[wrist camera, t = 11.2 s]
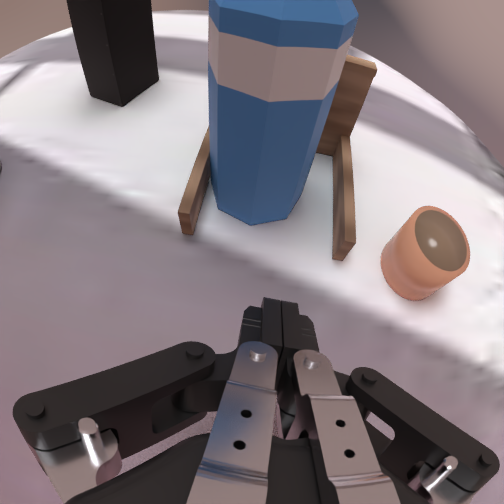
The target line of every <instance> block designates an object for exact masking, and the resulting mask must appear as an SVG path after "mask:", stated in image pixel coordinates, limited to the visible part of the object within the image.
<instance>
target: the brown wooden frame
mask: <svg viewBox="0 0 504 504" xmlns="http://www.w3.org/2000/svg"><path fill="white" fill-rule="evenodd" d="M376 73H377V68H376V65H375V63H374V62H370V61H367V60H364V59H361V58H357V57H354V56H350V55H347V56H346V59H345V63H344V66H343V69H342V72H341V76H340V79H339V82H338V85H337V88H336V91H335V95H334V98H333V101H332V104H331V107H330V110H329V113H328V116H327V119H326V122H325V125H324V129H323V132H322V135H321V138H320V141H319V144H318V147H317V150H316V153H321V154H325V155H330V156H333V254H332V259H335V260H341V261H343V259H344V258H345V257H346V255H347V254H348V253H349V251H350V250H351V249H352V247H353V246H354V245H355V243H356V227H355V202H354V184H353V170H352V157H351V146H350V135H351V132H352V130H353V128H354V125H355V123H356V120H357V118H358V115H359V113H360V110H361V108H362V105H363V103H364V100H365V98H366V95H367V93H368V90H369V88H370V85H371V83H372V80H373V78H374V77H375V75H376ZM210 175H211V171H210V140H209V127H208V129H207V132H206V134H205V137H204V140H203V142H202V145H201V148H200V150H199V153H198V156H197V158H196V161H195V164H194V166H193V169H192V172H191V175H190V178H189V180H188V183H187V186H186V189H185V192H184V195H183V198H182V201H181V204H180V207H179V210H178V216H179V220H180V225H181V229H182V233H184V234H190V235H193V233H194V229H195V225H196V222H197V218H198V215H199V212H200V208H201V205H202V201H203V198H204V195H205V191H206V188H207V185H208V181H209V178H210Z"/></svg>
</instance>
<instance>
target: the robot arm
mask: <svg viewBox="0 0 504 504" xmlns="http://www.w3.org/2000/svg"><path fill="white" fill-rule="evenodd" d="M0 171H1V161H0ZM314 330H315V329H314V325H313V322H312V321H311V320H310V319H309V317H308V316H305V315H299V309H298V304H297V303H293V302H287V301H282V300H281V301H280V300H276V299H271V298H266V297H264V298H263V301H262V305H261V308H259V307H254V306H249V307H248V308H247V309H246V310H245V311H244V315H243V320H242V325H241V330H240V335H239V340H238V346H237V348H236V349H235V350H234V351H232V352H230V353H226V354H215V352H214V351H213V349H212V348H210V347H209V346H207V345H205V344H203V343H200V342H192V341H190V342H183V343H180V344H178V345H175V346H173V347H170V348H167V349H164V350H162V351H159V352H156V353H154V354H151V355H148V356H145V357H142V358H140V359H137V360H134V361H131V362H128V363H125V364H122V365H120V366H117V367H114V368H111V369H108V370H105V371H102V372H99V373H96V374H93V375H89V376H86V377H83V378H80V379H77V380H74V381H71V382H67V383H64V384H61V385H57V386H54V387H51V388H47V389H44V390H41V391H37V392H34V393H30V394H27V395H24V396H22V397H21V398H20V399H18V400H17V402H16V403H15V405H14V407H13V417H14V420H15V422H16V424H17V426H18V428H19V429H20V431H21V433H22V435H23V437H24V439H25V441H26V442H27V444H28V446H29V448H30V449H31V451H32V453H33V454H34V456H35V458H36V459H37V461H38V463H39V464H40V466H41V467H42V469H43V471H44V472H45V473H46V475H47V476H48V477H49V479H50V481H51V483H52V484H53V486H54V488H55V490H56V491H57V493H58V495H59V497H60V498H61V500H62V502H63V503H64V504H469V503H470V502H471V500H472V498H473V496H474V495H475V494H476V493H477V492H478V491H479V490H480V489H482V487H483V486H484V485H485V484H486V483H487V482H488V481H489V480H490V479H491V478H492V477H493V476H494V475H495V474H496V473H497V472H498V470H499V467H500V464H499V459H498V457H497V456H496V454H495V453H494V452H493V451H492V450H491V449H489V448H488V447H486V446H485V445H483V444H482V443H480V442H479V441H477V440H476V439H474V438H473V437H471V436H470V435H468V434H467V433H465V432H464V431H462V430H461V429H459V428H458V427H456V426H455V425H453V424H452V423H450V422H449V421H448V420H446V419H445V418H443V417H442V416H440V415H439V414H437V413H436V412H434V411H433V410H432V409H430V408H429V407H427V406H426V405H424V404H423V403H422V402H420V401H419V400H417V399H416V398H414V397H413V396H411V395H410V394H409V393H407V392H406V391H404V390H403V389H402V388H400V387H399V386H397V385H396V384H394V383H393V382H392V381H390V380H389V379H387V378H386V377H385V376H383V375H382V374H380V373H379V372H377V371H376V370H373V369H371V368H366V367H359V368H356V369H354V370H353V371H352V373H351V375H350V376H348V375H345V374H342V373H339V372H336V371H334V370H333V368H332V365H331V362H330V360H329V359H328V358H327V357H326V356H325V355H323V354H322V353H320V352H319V348H318V343H317V338H316V334H315V331H314ZM276 396H277V402H278V404H277V406H276ZM275 406H276V418H277V428H278V437H275V436H272V432H273V423H274V415H275ZM211 411H217V415H216V418H215V421H214V424H213V427H212V430H211V433H206V434H201V435H196V436H193V437H190V438H188V439H185V440H183V441H181V442H179V443H177V444H176V445H174V446H172V447H170V448H169V449H167V450H165V451H164V452H162V453H160V454H158V455H157V456H155V457H153V458H151V459H149V460H147V461H146V462H144V463H142V464H140V465H138V466H136V467H134V468H133V469H131V470H129V471H127V472H125V473H123V474H121V475H119V476H117V475H118V474H119V472H120V471H121V468H122V459H124V458H127V457H129V456H131V455H133V454H135V453H137V452H140V451H142V450H144V449H146V448H148V447H150V446H152V445H154V444H156V443H158V442H160V441H162V440H164V439H166V438H168V437H170V436H172V435H174V434H175V433H177V432H179V431H181V430H183V429H185V428H187V427H188V426H190V425H192V424H194V423H196V422H198V421H199V420H201V419H203V418H204V417H205V416H206V414H207V412H211ZM370 412H372V413H374V414H375V415H376V416H377V417H379V418H380V419H381V420H383V421H384V422H385V423H387V424H388V425H389V426H390V427H392V428H393V430H394V432H395V438H394V439H393V440H390V439H389V438H388V437H386V436H385V435H384V434H383V433H381V432H380V431H379V430H377V429H376V428H375V427H374V426H372V425H371V424H370V423H369V422H367V421H366V419H367V417H368V416H369V414H370ZM115 476H117V477H115ZM114 477H115V478H114ZM112 478H113V479H112Z"/></svg>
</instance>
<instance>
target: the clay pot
mask: <svg viewBox="0 0 504 504" xmlns="http://www.w3.org/2000/svg"><path fill="white" fill-rule="evenodd" d="M469 261H470V248H469V244H468V240H467V238H466V235H465V233H464V231H463V230H462V228H461V226H460V225H459V224H458V223H457V221H456V220H455V219H454V218H453V217H452V216H451V215H449V214H448V213H447V212H445V211H443V210H442V209H439V208H437V207H433V206H424V207H421V208H419V209H417V210H416V211H415V212H414V213H413V214H412V216H411V217H410V218H409V219H408V220H407V221H406V223H405V224H404V225H403V226H402V227H401V228H400V229H399V231H398V232H397V233H396V234H395V235H394V236H393V237H392V239H391V240H390V241H389V242H388V243H387V244H386V245H385V247H384V249H383V251H382V254H381V268H382V272H383V275H384V277H385V279H386V281H387V283H388V284H389V286H390V287H391V288H392V289H393V290H394V291H395V292H396V293H397V294H398V295H400V296H401V297H403V298H405V299H408V300H413V301H417V300H422V299H424V298H426V297H428V296H429V295H431V294H432V293H434V292H435V291H437V290H438V289H440V288H442V287H443V286H445V285H446V284H447V283H449V282H450V281H452V280H453V279H455V278H456V277H458V276H459V275H461V274H462V273H463V272H464V271H465V270H466V268H467V267H468V264H469Z"/></svg>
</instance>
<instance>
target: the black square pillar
mask: <svg viewBox="0 0 504 504" xmlns="http://www.w3.org/2000/svg"><path fill="white" fill-rule="evenodd" d="M67 5H68V10H69V14H70V19H71V23H72V28H73V32H74V37H75V41H76V45H77V49H78V53H79V56H80V60H81V64H82V68H83V71H84V75H85V78H86V82H87V85H88V88H89V92H90V95H91V96H93V97H95V98H99V99H102V100H105V101H108V102H111V103H114V104H117V105H120V106H124V105H125V104H126V103H128V102H129V101H130V100H131V99H133V98H134V97H135V96H137V95H138V94H140V93H141V92H142V91H144V90H145V89H146V88H148V87H149V86H151V85H152V84H153V83H155V82H156V81H158V80H159V75H158V67H157V59H156V50H155V40H154V30H153V19H152V10H151V9H152V8H151V0H67Z"/></svg>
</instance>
